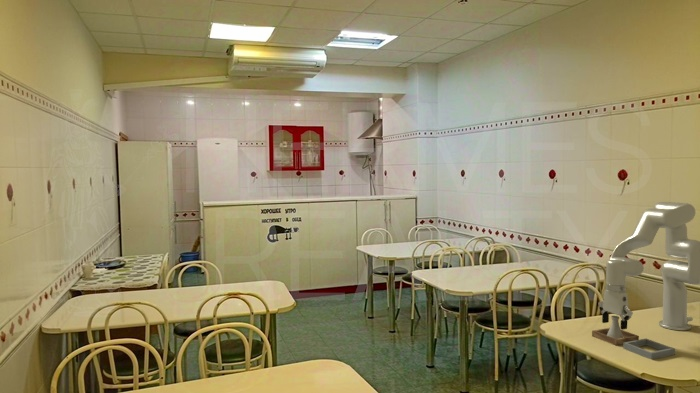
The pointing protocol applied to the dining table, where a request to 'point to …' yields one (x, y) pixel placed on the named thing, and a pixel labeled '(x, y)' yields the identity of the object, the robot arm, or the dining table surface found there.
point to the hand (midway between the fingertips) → (614, 325)
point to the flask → (615, 328)
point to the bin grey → (663, 349)
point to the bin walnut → (603, 336)
